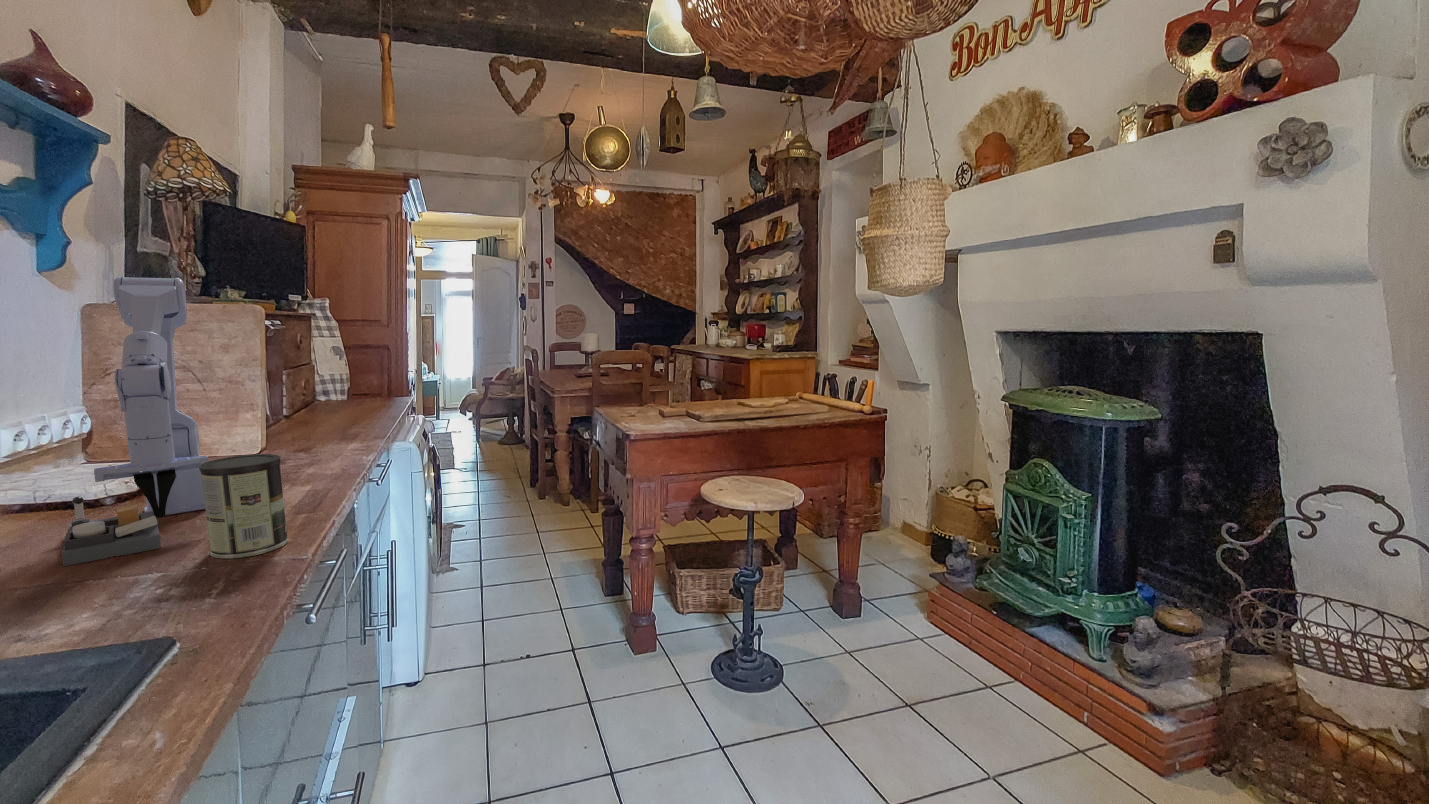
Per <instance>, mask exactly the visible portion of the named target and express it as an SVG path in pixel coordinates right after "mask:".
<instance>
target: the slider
mask: <svg viewBox="0 0 1429 804" xmlns="http://www.w3.org/2000/svg"><path fill="white" fill-rule="evenodd" d="M138 513H139V508H138V503H134V504H128V505H122V506H121V505H120V506H117V508H116V517H118V524H119V526H122V525H127V524H130V523H133V522H136V521H139V514H138Z"/></svg>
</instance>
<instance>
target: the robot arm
mask: <svg viewBox="0 0 1429 804" xmlns="http://www.w3.org/2000/svg"><path fill="white" fill-rule="evenodd" d="M112 285H113V296H114V301H115V304H116V307H117V309H118V311H119V314H120V317H121V320H123V322H124V325H126V326H128V327H131V328H132V332H131V333H130V334H128V335H127V336H126V337H124V339H123V344H122V347H123V348H122V358H121V369H118V368H117V369H116V370H115V371H114V386H115V390H116V394H117V396H118V401H119V405H120V409H121V412H123V414H124V422H125V430H126V438H127V439H126V440H127V451H128V457H129V463H124V464H123V463H122V464H117V465H111V466H110V465H109V466H104V467H103V466H102V467H96V468H94V469H93V475H94V480H95V481H94V482H95V483H99V482H105V481H108V480H117V479H124V478H131V477H132V478H133V480H134V481H133V482H134V484H135V485H136V486H137V487H138V488H139V490H140V491H141V492H142V494H143V495H144V497H145V502H146V503H145V504H146V506H145V507H143V510H144V513H145V512H151V511H153V512H154V516H155V517H157V518H160V517H165V516H171V515H175V514H181V513H182V514H183V513H188V512H193V511H200V510H205V502H204V494H203V486H202V478H201V471H200V469H199V466H200V465H201V464H203V463H205V462H208V461H210V460H209V456H208V455H201V445H200V436H199V435H200V434H199V431H198V424H197V422H196V420H194V418H193V417H191V416H190V415H188V414H186V413H183V412H182V411H181V412H180V411H179V410H178V397H177V382H176V369H175V353H174V352H175V351H174V338H175V334H176V329H179V328H181V327H182V326H184V325H187V319H188V310H187V293H186V287H185V282H184V281H183V280H182V279H181V278H180V277H174V278H169V277H164V278H163V277H127V276H124V277H123V276H122V275H118V276H116V278H115V279H114V280H113V284H112Z"/></svg>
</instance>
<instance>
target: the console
mask: <svg viewBox="0 0 1429 804" xmlns="http://www.w3.org/2000/svg"><path fill="white" fill-rule="evenodd" d="M138 514H139V520H143V519H146V518H149V517H152V516H154V512H153V511H151V512H145V511H144V512H138ZM156 519H157V520H158V517H156ZM97 521H102V522H105V530H106V532H105V533H104V534H101V535H97V536H91V537H85V538H74V536H73V529H72V527H74V526H76V525H79V524H83V523H88V522H97ZM122 526H124V525H122ZM118 527H121V526H119V524H118V516H112V517H107V518H101V519H94V520H90V518H84V519H77V520H76V519H75V520H72V522H71V523H69V524H68V528H67V531H66V533H65V536H64V540H63V545H62V546H63V547H62V550H61V556H62V557H61V558H62V564H63V566H64V567H65V566H71V565H76V564H81V563H82V564H83V563H87V562H92V561H97V560H98V561H99V560H104V558H105V559H108V558H107V557H110V558H114V557H113V556H116V557H120V555H121V556H125V555H132V554H137V553H141V552H148V551H153V550H159V549H162V547H161V537H160V536H161V535H160V531H159V524H158V522H157V525H154V526H151V527H148V528H145V529H142V530H138V531H135V532H132V533H129V534H126V535H123V536H120V537H117V536H116V534H115V528H118Z"/></svg>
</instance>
